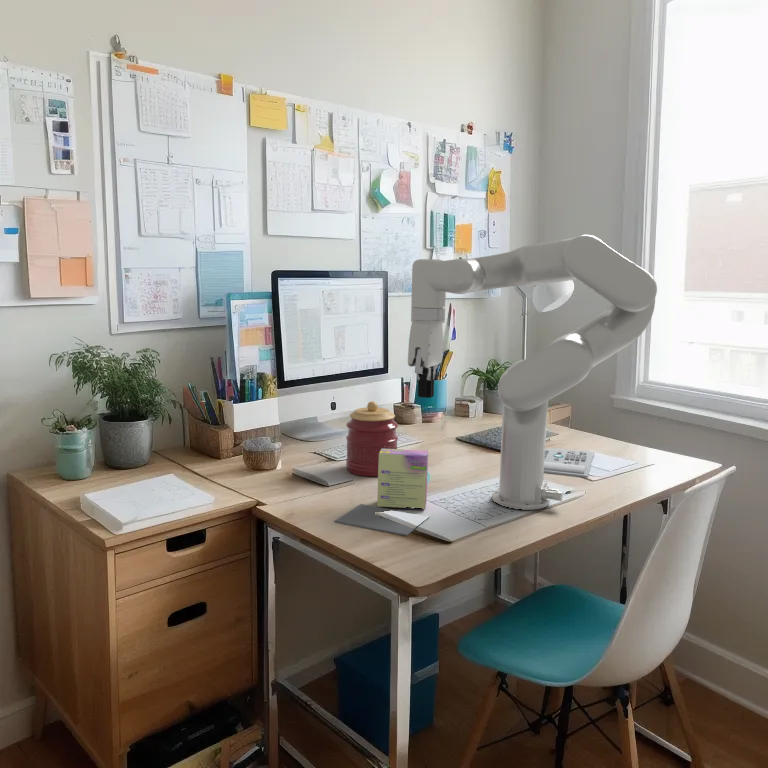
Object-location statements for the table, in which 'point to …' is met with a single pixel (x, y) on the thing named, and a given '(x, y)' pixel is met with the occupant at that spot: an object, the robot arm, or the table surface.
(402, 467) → the box
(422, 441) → the table surface
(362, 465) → the canister
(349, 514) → the mat
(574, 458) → the office telephone
